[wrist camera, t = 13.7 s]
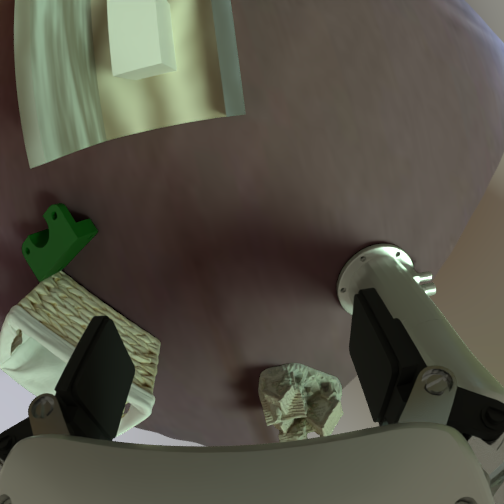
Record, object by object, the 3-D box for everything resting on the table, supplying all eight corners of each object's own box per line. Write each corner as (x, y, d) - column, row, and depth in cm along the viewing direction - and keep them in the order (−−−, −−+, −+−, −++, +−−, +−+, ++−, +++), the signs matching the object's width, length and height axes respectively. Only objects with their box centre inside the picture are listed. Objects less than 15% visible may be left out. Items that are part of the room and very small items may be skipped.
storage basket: (173, 342, 49) (156, 414, 35) (129, 382, 54) (111, 443, 40) (55, 255, 41) (3, 310, 28) (30, 312, 46) (-9, 364, 33)
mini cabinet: (169, -3, 25) (153, -23, 19) (177, 70, 30) (161, 63, 24) (129, 8, 25) (106, -8, 19) (136, 80, 30) (112, 76, 24)
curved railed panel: (224, -44, 23) (215, -106, 11) (245, 113, 33) (246, 117, 20) (80, -5, 24) (18, -34, 11) (96, 143, 34) (30, 168, 21)
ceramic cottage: (340, 403, 58) (353, 461, 44) (262, 412, 59) (262, 472, 45) (344, 350, 52) (364, 415, 38) (253, 361, 53) (251, 429, 39)
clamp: (85, 200, 42) (64, 191, 33) (106, 232, 43) (88, 229, 34) (33, 248, 40) (4, 249, 31) (51, 278, 41) (25, 286, 32)
